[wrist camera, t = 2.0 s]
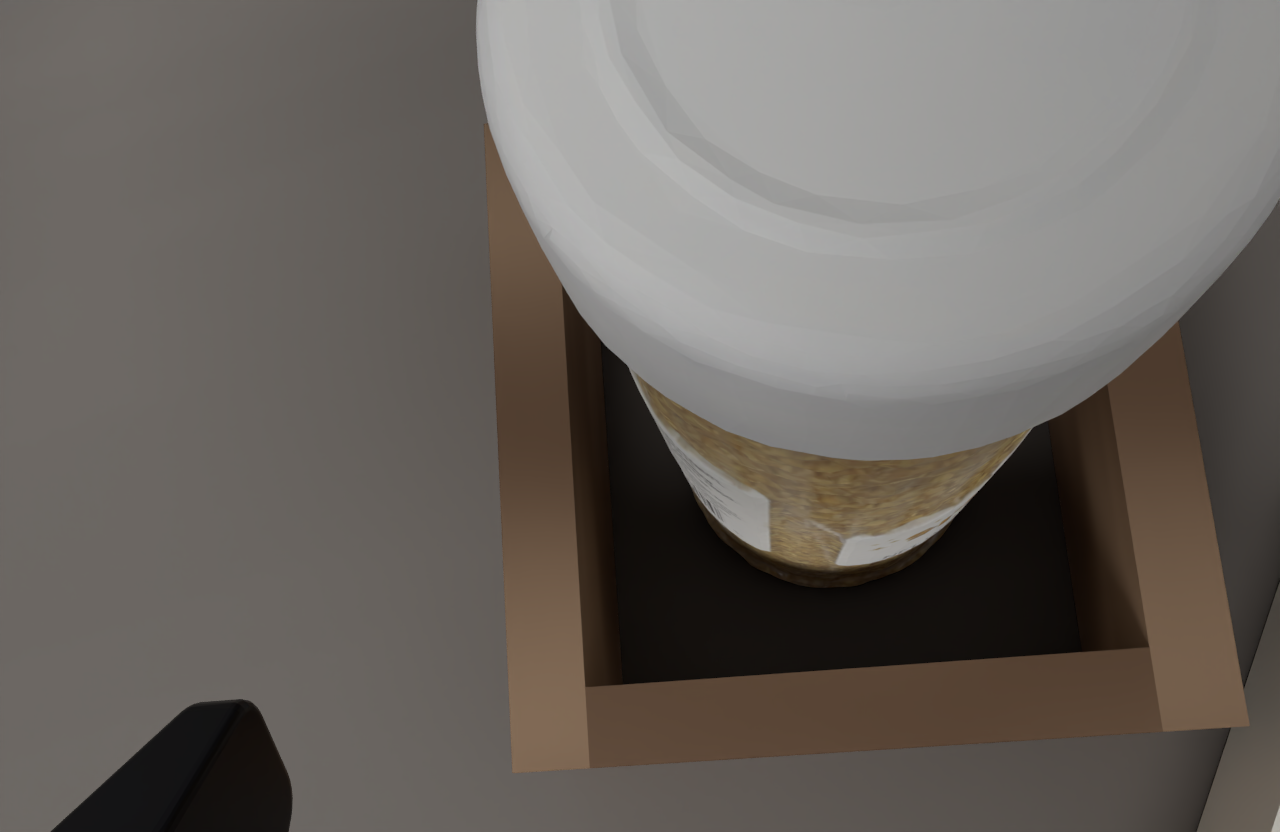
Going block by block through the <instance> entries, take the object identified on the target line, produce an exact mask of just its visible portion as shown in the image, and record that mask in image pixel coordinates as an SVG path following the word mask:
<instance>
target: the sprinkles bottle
mask: <svg viewBox="0 0 1280 832" xmlns="http://www.w3.org/2000/svg"><path fill="white" fill-rule="evenodd" d="M476 40H477V56H478V69H479V76H480V83H481V90H482V96H483V101H484V106H485V110H486V115H487V119H488V124H489V128H490V131H491V134H492V137H493V140H494V142H495V145H496V148H497V151H498V153H499V156H500V159H501V162H502V165H503V167H504V170H505V173H506V175H507V178H508V180H509V182H510V184H511V186H512V189H513V191H514V193H515V195H516V197H517V200H518V202H519V204H520V206H521V208H522V210H523V212H524V214H525V216H526V218H527V220H528V222H529V224H530V226H531V228H532V230H533V232H534V234H535V236H536V238H537V240H538V242H539V244H540V246H541V248H542V250H543V252H544V253H545V255H546V257H547V259H548V260H549V262H550V264H551V266H552V267H553V269H554V271H555V273H556V274H557V276H558V278H559V280H560V281H561V283H562V285H563V287H564V288H565V290H566V292H567V293H568V295H569V297H570V298H571V300H572V302H573V303H574V305H575V307H576V308H577V310H578V312H579V313H580V315H581V316H582V317H583V319H584V320H585V321H586V322H587V323H588V325H589V326H590V327H591V328H592V330H593V331H594V332H595V333H596V335H597V336H598V337H599V338H600V340H601V341H602V342H603V343H604V344H605V346H606V347H608V348H609V349H610V350H611V351H612V352H613V353H614V354H615V355H616V356H618V357H619V358H620V359H621V360H622V361H623V362H624V363H625V364H626V365H628V367H629V370H630V372H631V374H632V377H633V379H634V381H635V383H636V385H637V387H638V390H639V392H640V394H641V396H642V397H643V399H644V401H645V403H646V405H647V407H648V409H649V411H650V413H651V414H652V416H653V418H654V420H655V422H656V424H657V426H658V428H659V430H660V432H661V433H662V435H663V437H664V439H665V441H666V443H667V445H668V447H669V449H670V451H671V453H672V454H673V456H674V458H675V459H676V461H677V462H678V464H679V466H680V468H681V469H682V471H683V473H684V475H685V477H686V478H687V480H688V482H689V484H690V486H691V488H692V491H693V493H694V497H695V499H696V501H697V503H698V505H699V507H700V508H701V510H702V511H703V513H704V515H705V517H706V519H707V521H708V523H709V524H710V526H711V527H712V528H713V530H714V531H715V533H716V534H717V535H718V537H719V538H720V539H721V540H722V541H723V542H724V543H725V544H727V545H729V546H730V547H731V548H732V549H733V550H735V551H736V552H737V553H739V554H740V555H741V556H742V557H743V558H744V559H745V560H746V561H747V562H748V563H749V564H750V565H751V566H753V567H755V568H757V569H759V570H761V571H763V572H766V573H769V574H771V575H773V576H775V577H777V578H779V579H782V580H785V581H788V582H791V583H794V584H797V585H801V586H806V587H815V588H831V587H851V586H858V585H861V584H864V583H866V582H869V581H871V580H876V579H880V578H882V577H885V576H887V575H890V574H892V573H895V572H898V571H900V570H902V569H904V568H906V567H908V566H909V565H911V564H912V563H914V562H915V561H916V560H918V559H919V558H920V557H921V556H922V555H924V554H925V553H926V551H927V550H928V549H929V548H930V547H931V546H932V545H933V544H934V543H935V542H936V541H938V540H939V539H940V538H941V537H942V535H943V534H944V532H945V531H946V530H947V528H948V527H949V525H950V524H951V523H952V521H953V519H954V517H955V516H956V515H957V514H958V513H959V512H960V511H961V510H962V508H963V507H964V506H965V505H966V504H967V503H968V502H969V501H970V500H971V499H972V498H973V497H974V495H975V494H976V493H977V492H978V491H979V490H980V489H981V488H982V487H983V486H984V485H985V483H986V482H987V481H988V480H989V479H990V478H991V477H992V476H993V475H994V473H995V472H996V471H997V470H998V469H999V468H1000V467H1001V466H1002V465H1003V464H1004V462H1005V461H1006V460H1007V459H1008V458H1009V457H1010V456H1011V455H1012V453H1013V452H1014V451H1015V450H1016V448H1017V447H1018V446H1019V445H1020V443H1021V442H1022V441H1023V440H1024V438H1025V437H1026V436H1027V434H1028V433H1029V432H1030V431H1031V429H1032V428H1033V427H1035V426H1037V425H1039V424H1041V423H1044V422H1046V421H1048V420H1050V419H1053V418H1055V417H1057V416H1059V415H1061V414H1063V413H1065V412H1066V411H1068V410H1070V409H1071V408H1073V407H1074V406H1076V405H1078V404H1079V403H1081V402H1082V401H1084V400H1086V399H1087V398H1089V397H1090V396H1091V395H1093V394H1094V393H1096V392H1097V391H1098V390H1100V389H1101V388H1102V387H1104V386H1105V385H1106V384H1108V383H1109V382H1110V381H1112V380H1113V379H1115V378H1116V377H1117V376H1119V375H1120V374H1121V373H1122V372H1123V371H1124V370H1126V369H1127V368H1128V367H1129V366H1130V365H1131V364H1132V363H1133V362H1134V361H1136V360H1137V359H1138V358H1139V357H1140V356H1141V355H1142V354H1143V353H1144V352H1146V351H1147V350H1148V349H1149V348H1150V347H1151V346H1152V345H1153V344H1154V343H1156V342H1157V341H1158V340H1159V339H1160V338H1161V337H1162V336H1163V335H1164V334H1165V333H1166V332H1167V331H1168V330H1169V329H1170V328H1171V327H1172V326H1173V325H1174V324H1175V323H1176V322H1177V321H1178V320H1179V319H1180V318H1181V317H1182V316H1183V315H1184V314H1185V313H1186V312H1187V311H1188V310H1189V309H1190V308H1191V307H1192V306H1193V304H1194V303H1195V302H1196V301H1197V300H1198V299H1199V298H1200V297H1201V296H1202V295H1203V294H1204V293H1205V292H1206V291H1207V290H1208V288H1209V287H1210V286H1211V285H1212V284H1213V283H1214V282H1215V281H1216V280H1217V279H1218V278H1219V277H1220V276H1221V275H1222V274H1223V273H1224V271H1225V270H1226V269H1227V268H1228V267H1229V266H1230V264H1231V263H1232V262H1233V261H1234V260H1235V259H1236V257H1237V256H1238V255H1239V254H1240V253H1241V251H1242V250H1243V249H1244V248H1245V247H1246V246H1247V244H1248V243H1249V242H1250V241H1251V239H1252V238H1253V237H1254V235H1255V234H1256V233H1257V231H1258V230H1259V229H1260V227H1261V226H1262V225H1263V223H1264V222H1265V220H1266V219H1267V218H1268V216H1269V215H1270V214H1271V212H1272V210H1273V209H1274V207H1275V205H1276V204H1277V202H1278V200H1279V199H1280V0H478V1H477V15H476Z"/></svg>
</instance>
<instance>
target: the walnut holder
mask: <svg viewBox="0 0 1280 832" xmlns="http://www.w3.org/2000/svg"><path fill="white" fill-rule="evenodd" d="M484 138H485V161H486V184H487V206H488V229H489V252H490V274H491V297H492V320H493V343H494V365H495V388H496V411H497V433H498V456H499V479H500V501H501V524H502V547H503V570H504V592H505V615H506V638H507V660H508V683H509V706H510V729H511V751H512V773H523V772H539V771H554V770H570V769H586V768H602V767H617V766H633V765H649V764H664V763H680V762H696V761H712V760H727V759H743V758H759V757H774V756H790V755H806V754H821V753H837V752H853V751H869V750H884V749H900V748H916V747H931V746H947V745H963V744H978V743H994V742H1010V741H1026V740H1041V739H1057V738H1073V737H1088V736H1104V735H1120V734H1136V733H1151V732H1167V731H1183V730H1198V729H1214V728H1230V727H1245V726H1250V724H1249V718H1248V712H1247V707H1246V701H1245V695H1244V690H1243V684H1242V678H1241V673H1240V667H1239V661H1238V656H1237V650H1236V644H1235V639H1234V633H1233V627H1232V621H1231V616H1230V610H1229V604H1228V599H1227V593H1226V587H1225V582H1224V576H1223V570H1222V565H1221V559H1220V553H1219V548H1218V542H1217V536H1216V531H1215V525H1214V519H1213V514H1212V508H1211V502H1210V496H1209V491H1208V485H1207V479H1206V474H1205V468H1204V462H1203V457H1202V451H1201V445H1200V440H1199V434H1198V428H1197V423H1196V417H1195V411H1194V406H1193V400H1192V394H1191V389H1190V383H1189V377H1188V372H1187V366H1186V360H1185V354H1184V349H1183V343H1182V337H1181V332H1180V326H1179V320H1178V321H1177V322H1176V323H1175V324H1174V325H1173V326H1172V327H1171V328H1170V329H1169V330H1168V331H1167V332H1166V333H1165V334H1164V335H1163V336H1162V337H1161V338H1160V339H1159V340H1158V341H1157V342H1156V343H1154V344H1153V345H1152V346H1151V347H1150V348H1149V349H1148V350H1147V351H1146V352H1144V353H1143V354H1142V355H1141V356H1140V357H1139V358H1138V359H1137V360H1136V361H1134V362H1133V363H1132V364H1131V365H1130V366H1129V367H1128V368H1127V369H1126V370H1124V371H1123V372H1122V373H1121V374H1120V375H1119V376H1117V377H1116V378H1115V379H1113V380H1112V381H1110V382H1109V383H1108V384H1106V385H1105V386H1104V387H1102V388H1101V389H1100V390H1098V391H1097V392H1096V393H1094V394H1093V395H1091V396H1090V397H1089V398H1087V399H1086V400H1084V401H1082V402H1081V403H1079V404H1078V405H1076V406H1074V407H1073V408H1071V409H1070V410H1068V411H1066V412H1065V413H1063V414H1061V415H1059V416H1057V417H1055V418H1053V419H1050V420H1048V426H1049V433H1050V440H1051V446H1052V453H1053V460H1054V467H1055V473H1056V480H1057V487H1058V494H1059V500H1060V507H1061V514H1062V521H1063V527H1064V534H1065V541H1066V548H1067V555H1068V561H1069V568H1070V575H1071V582H1072V588H1073V595H1074V602H1075V609H1076V615H1077V622H1078V629H1079V636H1080V642H1081V649H1082V652H1075V653H1061V654H1047V655H1033V656H1019V657H1005V658H991V659H977V660H963V661H948V662H934V663H920V664H906V665H892V666H878V667H864V668H850V669H836V670H822V671H808V672H794V673H780V674H766V675H752V676H737V677H723V678H709V679H695V680H681V681H667V682H653V683H639V684H625V685H623V679H622V664H621V648H620V633H619V617H618V602H617V586H616V571H615V555H614V540H613V524H612V509H611V493H610V478H609V463H608V447H607V432H606V416H605V401H604V385H603V370H602V354H601V340H600V338H599V337H598V336H597V335H596V333H595V332H594V331H593V330H592V328H591V327H590V326H589V325H588V323H587V322H586V321H585V320H584V319H583V317H582V316H581V315H580V313H579V312H578V310H577V308H576V307H575V305H574V303H573V302H572V300H571V298H570V297H569V295H568V293H567V292H566V290H565V288H564V287H563V285H562V283H561V281H560V280H559V278H558V276H557V274H556V273H555V271H554V269H553V267H552V266H551V264H550V262H549V260H548V259H547V257H546V255H545V253H544V252H543V250H542V248H541V246H540V244H539V242H538V240H537V238H536V236H535V234H534V232H533V230H532V228H531V226H530V224H529V222H528V220H527V218H526V216H525V214H524V212H523V210H522V208H521V206H520V204H519V202H518V200H517V197H516V195H515V193H514V191H513V189H512V186H511V184H510V182H509V180H508V178H507V175H506V173H505V170H504V167H503V165H502V162H501V159H500V156H499V153H498V151H497V148H496V145H495V142H494V140H493V137H492V134H491V131H490V128H489V124H488V123H487V124H484Z"/></svg>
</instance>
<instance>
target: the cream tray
mask: <svg viewBox="0 0 1280 832" xmlns="http://www.w3.org/2000/svg"><path fill="white" fill-rule="evenodd" d="M1244 695H1245V701H1246V707H1247V712H1248V718H1249V724H1250V726H1245V727H1231V730H1230V733H1229V736H1228V739H1227V742H1226V745H1225V748H1224V751H1223V754H1222V757H1221V760H1220V763H1219V766H1218V769H1217V772H1216V775H1215V778H1214V781H1213V784H1212V787H1211V790H1210V793H1209V796H1208V799H1207V802H1206V805H1205V808H1204V811H1203V814H1202V817H1201V820H1200V823H1199V826H1198V829H1197V832H1280V582H1279V585H1278V588H1277V591H1276V594H1275V597H1274V600H1273V603H1272V606H1271V609H1270V612H1269V615H1268V618H1267V621H1266V624H1265V627H1264V630H1263V633H1262V636H1261V639H1260V642H1259V645H1258V648H1257V651H1256V654H1255V657H1254V660H1253V663H1252V666H1251V669H1250V672H1249V675H1248V678H1247V681H1246V684H1245V687H1244Z"/></svg>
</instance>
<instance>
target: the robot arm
mask: <svg viewBox="0 0 1280 832" xmlns="http://www.w3.org/2000/svg"><path fill="white" fill-rule="evenodd" d="M292 799H293V798H292V787H291V783H290V779H289V776H288V773H287V770H286V768H285V766H284V764H283V761H282V759H281V757H280V755H279V752H278V750H277V748H276V746H275V743H274V741H273V739H272V737H271V734H270V732H269V730H268V728H267V725H266V723H265V721H264V719H263V716H262V714H261V713H260V711H259V709H258V708H257V707H256V706H255V705H254V704H253V703H252V702H250V701H248V700H243V699H238V700H225V701H211V702H200V703H196V704H193V705H191V706H189V707H187V708H186V709H185V710H183V711H182V712H181V713H179V714H178V715H177V716H176V717H175V718H174V719H173V720H172V721H171V722H170V723H169V724H167V725H166V726H165V727H164V728H163V729H162V730H161V731H160V732H159V733H158V734H157V735H155V736H154V737H153V738H152V739H151V740H150V741H149V742H148V743H147V744H146V745H145V746H143V747H142V748H141V749H140V750H139V751H138V752H137V753H136V754H135V755H134V756H133V757H131V758H130V759H129V760H128V761H127V762H126V763H125V764H124V765H123V766H122V767H121V768H119V769H118V770H117V771H116V772H115V773H114V774H113V775H112V776H111V777H110V778H109V779H107V780H106V781H105V782H104V783H103V784H102V785H101V786H100V787H99V788H98V789H97V790H95V791H94V792H93V793H92V794H91V795H90V796H89V797H88V798H87V799H86V800H85V801H83V802H82V803H81V804H80V805H79V806H78V807H77V808H76V809H75V810H74V811H73V812H71V813H70V814H69V815H68V816H67V817H66V818H65V819H64V820H63V821H62V822H61V823H59V824H58V825H57V826H56V827H55V828H54V829H53V830H52V831H51V832H289V827H290V821H291V814H292Z"/></svg>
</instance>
